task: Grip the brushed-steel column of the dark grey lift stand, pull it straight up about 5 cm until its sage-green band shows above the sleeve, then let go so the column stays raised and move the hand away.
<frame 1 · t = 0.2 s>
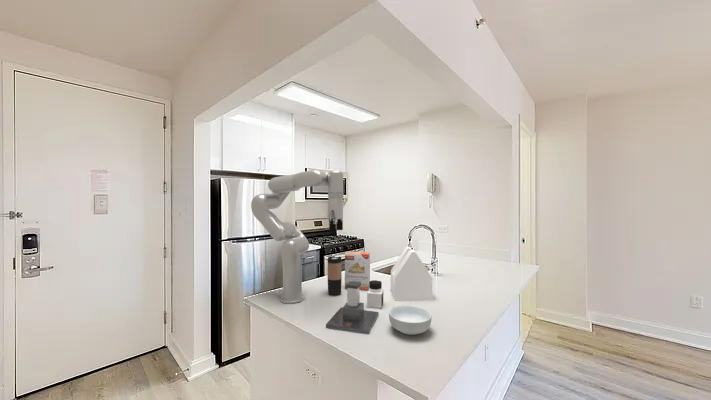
hand: (336, 231, 137), 36 cm above the counter, tool pointing down, fingers open, 9 cm apart
travel mug: (334, 294, 154), on the counter
column: (353, 300, 120), point 9 cm above the counter, slide at 0.0 cm
cereal bowl: (409, 330, 112), on the counter
stand base: (353, 321, 120), on the counter
cracker box: (357, 288, 163), on the counter
medicine bottle: (375, 305, 138), on the counter
white house-shaped block: (410, 295, 152), on the counter
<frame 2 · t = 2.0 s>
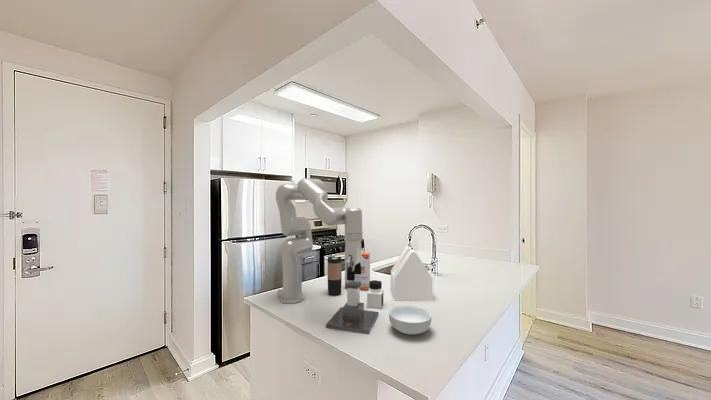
hand: (354, 277, 120), 19 cm above the counter, tool pointing down, fingers open, 9 cm apart
nothing on the counter moved.
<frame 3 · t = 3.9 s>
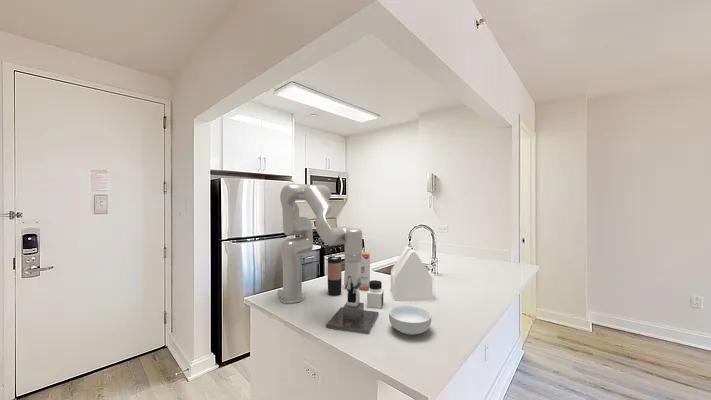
hand: (353, 299, 120), 9 cm above the counter, tool pointing down, fingers closed on column, 4 cm apart
column: (353, 300, 120), point 9 cm above the counter, slide at 0.0 cm, touching gripper
everything else where it was.
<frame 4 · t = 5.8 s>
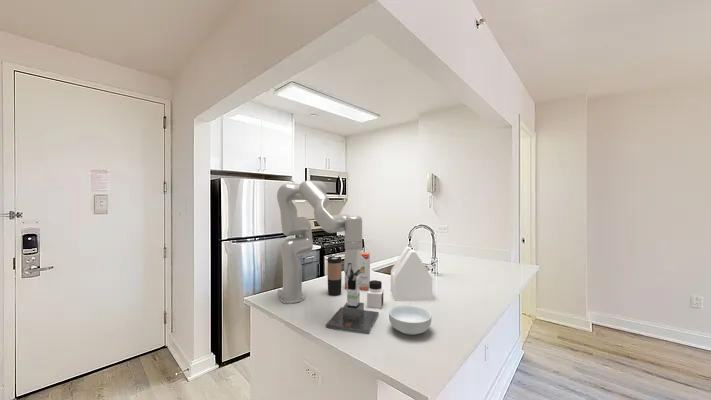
hand: (353, 287, 120), 15 cm above the counter, tool pointing down, fingers closed on column, 4 cm apart
column: (353, 287, 120), point 15 cm above the counter, slide at 5.4 cm, touching gripper
everything else where it was.
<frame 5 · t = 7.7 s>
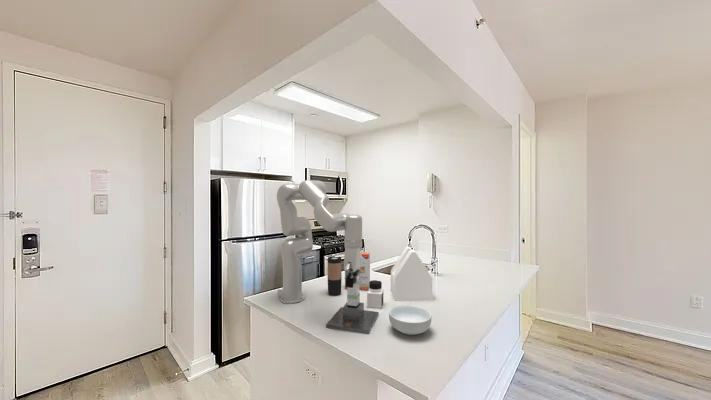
hand: (353, 283, 120), 16 cm above the counter, tool pointing down, fingers open, 9 cm apart
column: (353, 287, 120), point 15 cm above the counter, slide at 5.5 cm
everything else where it was.
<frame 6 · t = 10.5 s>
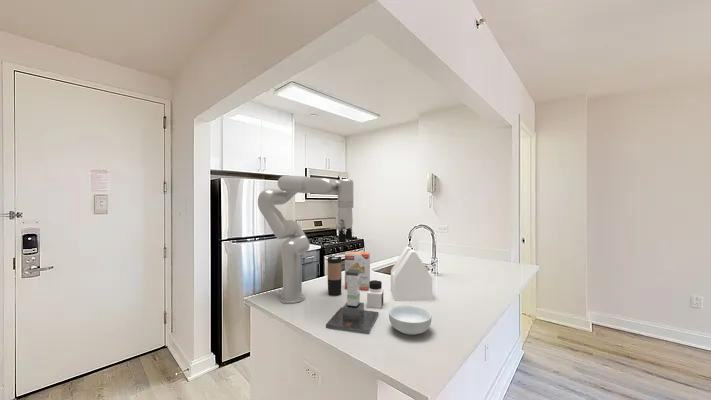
hand: (345, 240, 135), 32 cm above the counter, tool pointing down, fingers open, 9 cm apart
nothing on the counter moved.
at the end: column slide at 5.5 cm; the gripper is holding nothing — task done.
